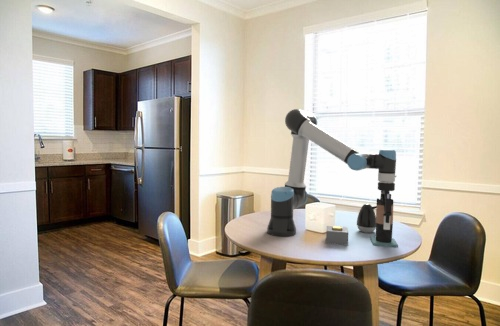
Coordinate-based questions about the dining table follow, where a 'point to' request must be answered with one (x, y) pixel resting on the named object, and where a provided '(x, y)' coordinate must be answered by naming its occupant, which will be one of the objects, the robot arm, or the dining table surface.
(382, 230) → the travel mug
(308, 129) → the robot arm
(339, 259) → the dining table surface
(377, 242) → the mat
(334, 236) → the block
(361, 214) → the pump dispenser
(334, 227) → the plunger
